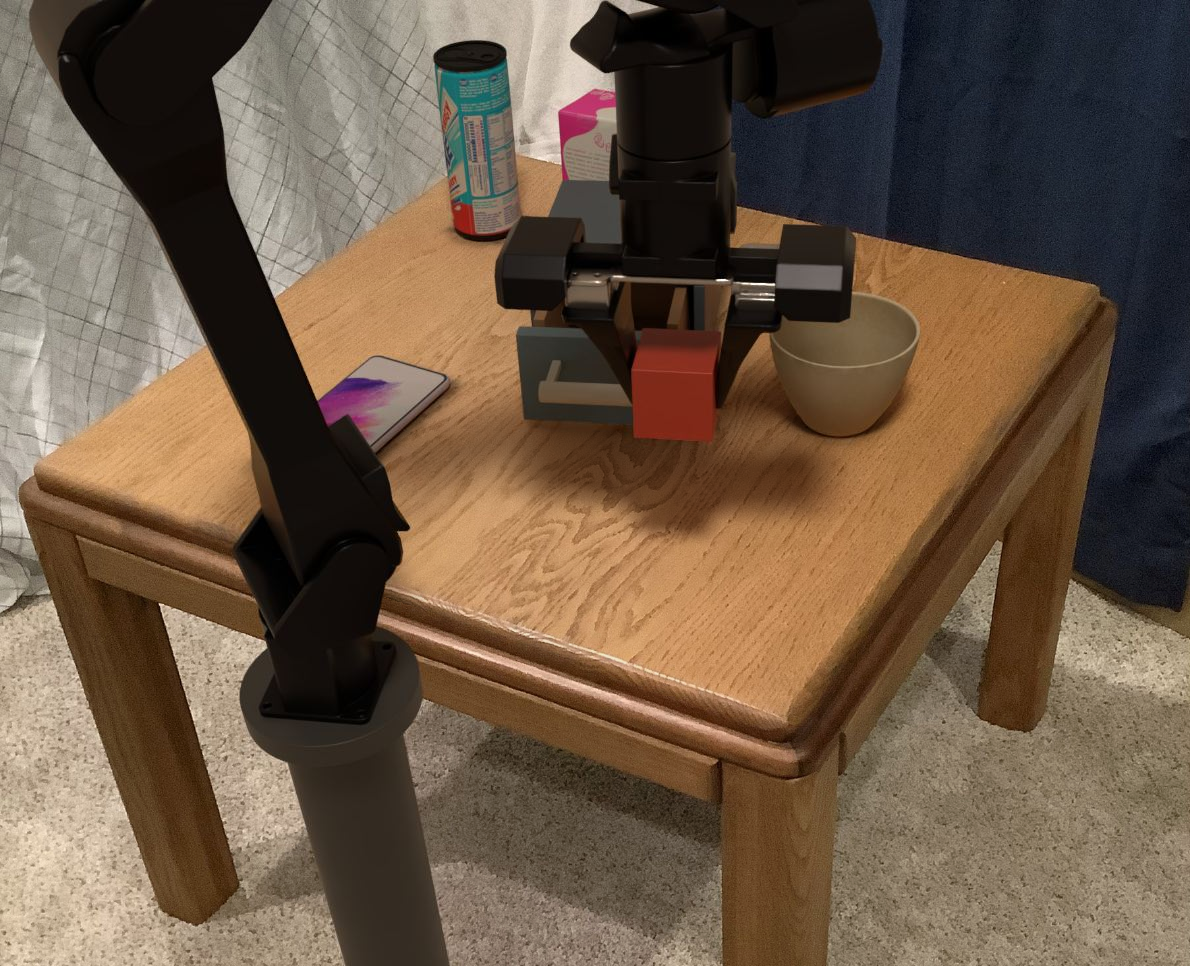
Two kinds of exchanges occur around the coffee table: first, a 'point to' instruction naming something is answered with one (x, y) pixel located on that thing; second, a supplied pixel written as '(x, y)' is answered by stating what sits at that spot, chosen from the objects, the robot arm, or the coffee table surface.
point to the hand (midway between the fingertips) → (678, 402)
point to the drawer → (589, 359)
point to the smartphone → (382, 397)
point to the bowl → (846, 364)
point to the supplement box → (587, 136)
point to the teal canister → (478, 137)
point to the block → (675, 384)
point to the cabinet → (605, 227)
